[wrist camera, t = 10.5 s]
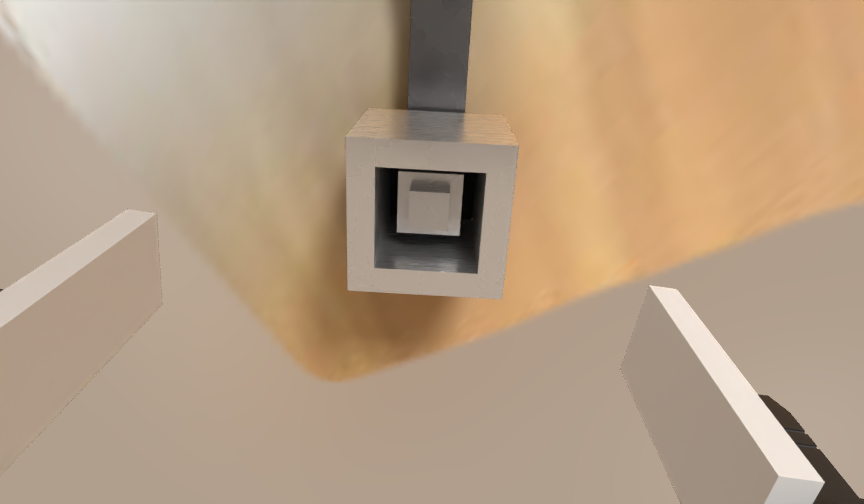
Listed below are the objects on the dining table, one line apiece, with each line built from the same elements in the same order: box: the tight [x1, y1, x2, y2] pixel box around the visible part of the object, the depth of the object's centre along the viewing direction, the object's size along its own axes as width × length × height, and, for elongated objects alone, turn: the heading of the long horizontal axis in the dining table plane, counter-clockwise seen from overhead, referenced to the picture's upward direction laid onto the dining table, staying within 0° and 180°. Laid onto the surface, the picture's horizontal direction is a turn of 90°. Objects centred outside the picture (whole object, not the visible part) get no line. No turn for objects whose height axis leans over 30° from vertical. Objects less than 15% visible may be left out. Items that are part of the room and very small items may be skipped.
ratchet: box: [390, 0, 476, 236], centre depth 27 cm, size 20×6×8 cm, turn 177°
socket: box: [346, 108, 519, 299], centre depth 27 cm, size 7×7×7 cm
